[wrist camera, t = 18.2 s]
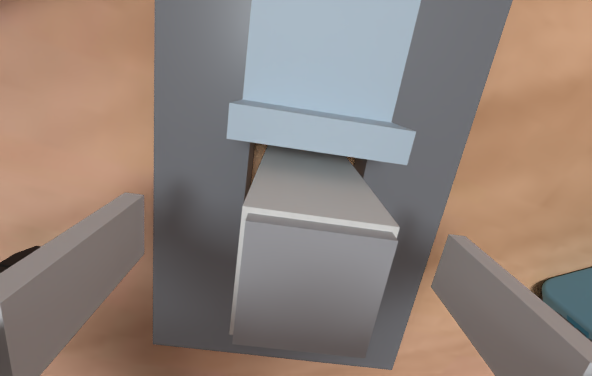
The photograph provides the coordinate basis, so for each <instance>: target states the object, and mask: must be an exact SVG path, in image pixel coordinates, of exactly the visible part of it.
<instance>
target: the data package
mask: <svg viewBox="0 0 592 376" xmlns="http://www.w3.org/2000/svg"><path fill="white" fill-rule="evenodd" d="M542 296H543V302H545V303H546V304H547V305H548V306H549V307H551V308H552V309H553V310H555V311H556V312H558V313H559V314H561V315H562V316H563V317H564V318H565V319H567V320H568V321H569V322H570V323H571V324H573V325H574V328H577V329H579V330H580V331H581V332H582V333H583V334H585V335H586V338H589V339H591V340H592V267H591V268H587V269H583V270H580V271H576V272H572V273H569V274H565V275H561V276H557V277H554V278H551V279H548V280H547V281H545V282H544V284H543V286H542Z"/></svg>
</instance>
